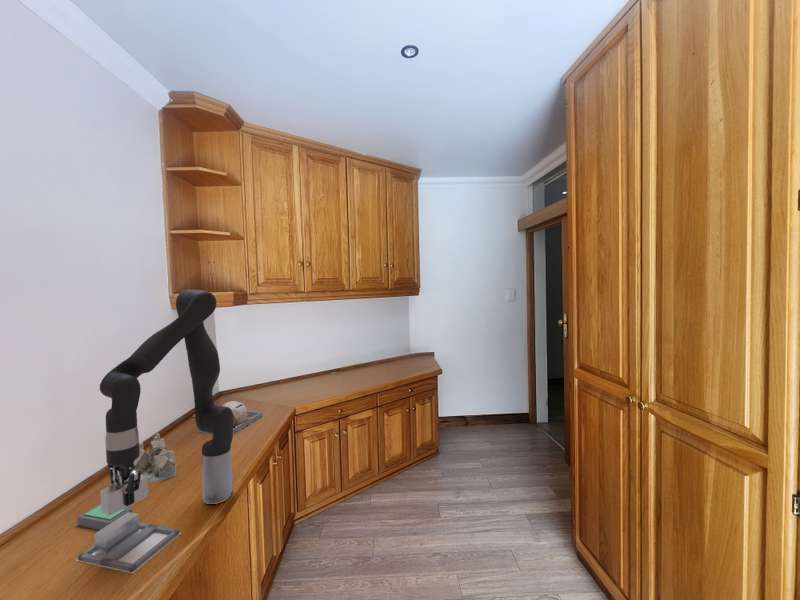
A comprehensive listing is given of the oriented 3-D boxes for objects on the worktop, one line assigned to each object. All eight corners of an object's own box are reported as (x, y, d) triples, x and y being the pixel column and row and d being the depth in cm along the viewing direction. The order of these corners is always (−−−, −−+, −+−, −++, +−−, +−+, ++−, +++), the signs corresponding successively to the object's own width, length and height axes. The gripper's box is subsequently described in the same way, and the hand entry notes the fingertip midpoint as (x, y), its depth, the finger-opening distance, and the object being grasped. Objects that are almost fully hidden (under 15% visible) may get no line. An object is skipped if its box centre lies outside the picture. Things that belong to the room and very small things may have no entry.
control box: (101, 514, 123) (101, 502, 123) (132, 520, 120) (131, 508, 120) (77, 529, 116) (77, 516, 116) (109, 535, 113) (109, 523, 113)
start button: (100, 509, 122) (100, 504, 121) (125, 513, 119) (125, 509, 119) (84, 518, 117) (84, 514, 117) (110, 523, 114) (110, 519, 114)
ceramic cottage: (124, 473, 149) (125, 437, 148) (171, 462, 160) (173, 428, 159) (129, 492, 137) (130, 453, 136) (180, 479, 148) (181, 442, 147)
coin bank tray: (231, 413, 216) (231, 409, 216) (262, 416, 212) (262, 412, 211) (196, 432, 190) (196, 427, 190) (230, 436, 185) (230, 431, 185)
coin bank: (215, 421, 205) (217, 397, 204) (249, 420, 210) (250, 397, 209) (209, 433, 190) (211, 407, 189) (245, 432, 195) (247, 407, 194)
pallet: (130, 526, 117) (130, 519, 117) (181, 536, 113) (181, 529, 113) (76, 564, 102) (75, 556, 102) (132, 577, 98) (132, 569, 97)
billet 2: (128, 530, 114) (127, 511, 113) (139, 533, 113) (138, 513, 112) (95, 554, 104) (94, 533, 104) (106, 556, 103) (105, 536, 103)
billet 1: (101, 511, 103) (100, 490, 102) (140, 492, 111) (139, 473, 111) (108, 515, 101) (107, 494, 100) (148, 496, 109) (147, 476, 109)
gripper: (150, 444, 105) (153, 502, 106) (125, 433, 112) (127, 488, 113) (120, 455, 98) (122, 517, 99) (94, 442, 105) (97, 501, 106)
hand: (125, 501), depth 106 cm, fingers closed on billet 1, 4 cm apart
